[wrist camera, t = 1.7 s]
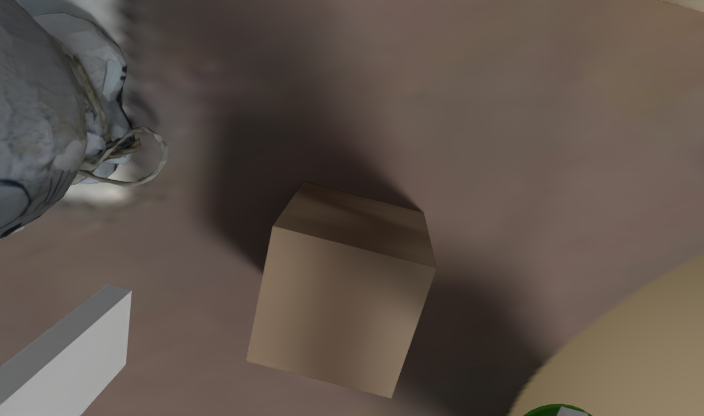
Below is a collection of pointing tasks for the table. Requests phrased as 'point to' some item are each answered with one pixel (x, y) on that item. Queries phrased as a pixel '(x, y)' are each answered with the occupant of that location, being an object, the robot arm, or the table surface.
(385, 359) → the walnut cube
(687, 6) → the tower base
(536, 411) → the cup
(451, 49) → the table surface
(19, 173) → the figurine
